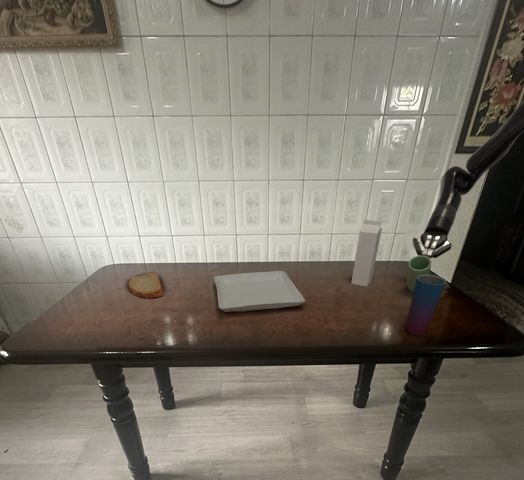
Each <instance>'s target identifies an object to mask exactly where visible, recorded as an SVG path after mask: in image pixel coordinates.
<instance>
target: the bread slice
mask: <svg viewBox="0 0 524 480" xmlns="http://www.w3.org/2000/svg"><path fill="white" fill-rule="evenodd" d="M127 284H128V290H129V292H131V291H132V292H131V293H132V295H134V294H135V295H134V296H136V295H137V296H136V297H138V296H140V297H139V298H141V297H145V298H144V299H149V298H150V299H155V298H154V297H159V296H162V295H163V296H164V287H163V284H162V281H161V278H160V276H159V274H157V272H155V271H149V272H148V273H147V272H146V273H145V274H143V275H131V276H130V278H129V280H128V283H127ZM163 296H162V297H163ZM159 298H160V297H159Z"/></svg>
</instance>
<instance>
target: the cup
mask: <svg viewBox="0 0 524 480" xmlns="http://www.w3.org/2000/svg"><path fill="white" fill-rule="evenodd" d="M446 284H447V279H445V278H443V277H442V276H439V275H434V274H429V275H419V276H417V279H416V284H415V288H414V292H412V297H411V302H410V307H409V311H408V315H407V319H406V324H405V331H406V332H407V333H409V334H411V335H416V336H419V335H423V334H425V332H426V330H427V328H428V326H429V323H430V321H431V319H432V317H433V314H434V312H435V310H436V307H437V305H438V303H439V300H440V298H441V296H442V293H443V291H444V289H445V287H446Z"/></svg>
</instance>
